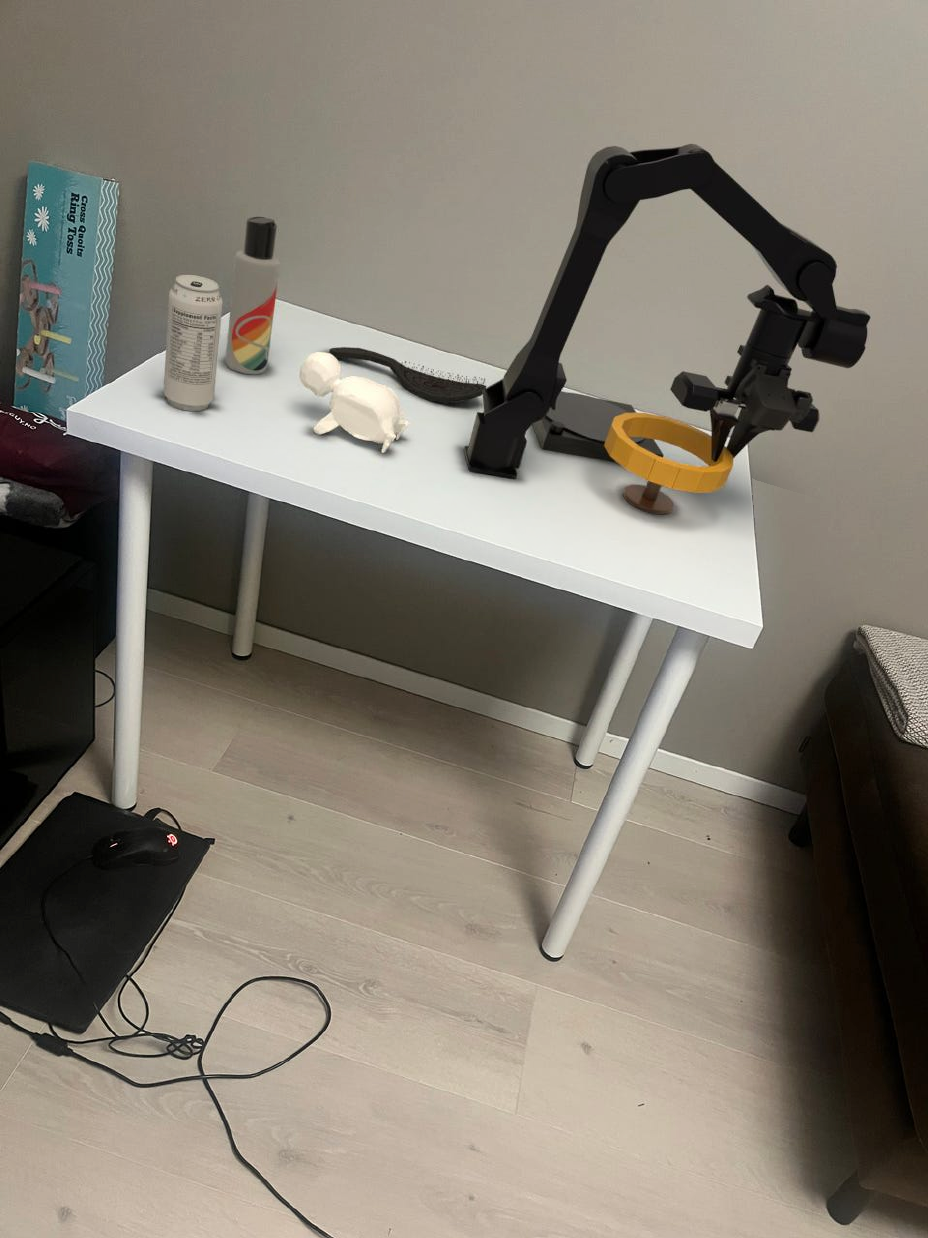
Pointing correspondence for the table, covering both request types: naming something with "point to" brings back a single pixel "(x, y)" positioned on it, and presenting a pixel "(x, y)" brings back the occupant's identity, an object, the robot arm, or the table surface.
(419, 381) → the hairbrush
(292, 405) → the table surface
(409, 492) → the table surface
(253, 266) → the lotion bottle
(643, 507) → the peg
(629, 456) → the ring
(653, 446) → the hot plate
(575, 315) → the robot arm
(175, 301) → the energy drink can
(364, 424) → the white turtle figurine
